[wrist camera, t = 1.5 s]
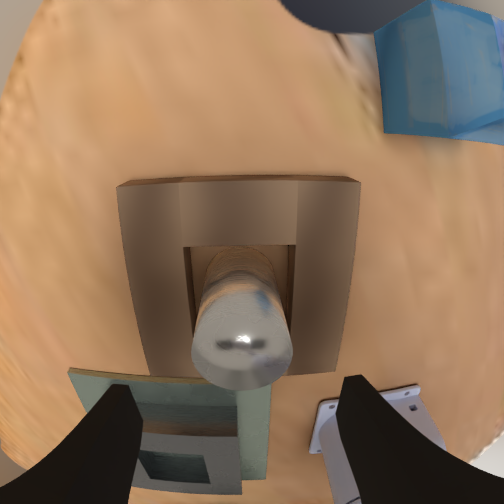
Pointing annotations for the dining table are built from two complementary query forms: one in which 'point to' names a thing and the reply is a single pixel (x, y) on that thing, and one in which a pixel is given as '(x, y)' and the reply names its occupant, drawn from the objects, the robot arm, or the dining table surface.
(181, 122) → the dining table surface
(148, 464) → the metal hub block
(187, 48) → the dining table surface
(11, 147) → the dining table surface
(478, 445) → the dining table surface
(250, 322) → the steel peg
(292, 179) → the walnut stand
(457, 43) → the perfume bottle
